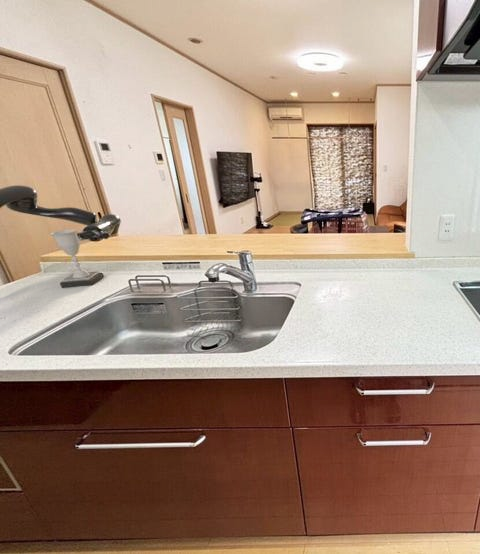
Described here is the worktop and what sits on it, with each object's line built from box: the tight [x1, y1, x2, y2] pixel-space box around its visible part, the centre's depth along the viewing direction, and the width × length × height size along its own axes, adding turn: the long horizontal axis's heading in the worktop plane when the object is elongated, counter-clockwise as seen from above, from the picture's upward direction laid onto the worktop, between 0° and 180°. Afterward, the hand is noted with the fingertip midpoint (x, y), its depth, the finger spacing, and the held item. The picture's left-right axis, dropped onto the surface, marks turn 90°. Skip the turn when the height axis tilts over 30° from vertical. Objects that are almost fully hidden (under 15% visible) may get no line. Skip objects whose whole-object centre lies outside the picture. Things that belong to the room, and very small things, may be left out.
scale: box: [59, 270, 105, 289], centre depth 120 cm, size 10×9×3 cm
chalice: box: [50, 229, 89, 278], centre depth 116 cm, size 7×7×18 cm
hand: (81, 240), depth 124 cm, fingers open, 8 cm apart
